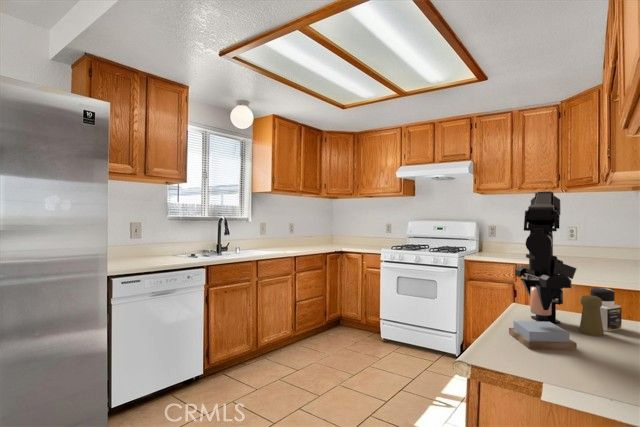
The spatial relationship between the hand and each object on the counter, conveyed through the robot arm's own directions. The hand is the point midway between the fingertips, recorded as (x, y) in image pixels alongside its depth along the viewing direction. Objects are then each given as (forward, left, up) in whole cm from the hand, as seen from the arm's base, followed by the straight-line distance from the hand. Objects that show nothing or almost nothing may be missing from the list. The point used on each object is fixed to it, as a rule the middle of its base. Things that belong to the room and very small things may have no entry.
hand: (540, 307), depth 103 cm
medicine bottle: (-15, +26, -10) cm, 31 cm away
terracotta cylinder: (0, 0, -2) cm, 2 cm away
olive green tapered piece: (-9, +19, -10) cm, 23 cm away
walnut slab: (0, 0, -10) cm, 10 cm away
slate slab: (+1, -1, -8) cm, 8 cm away
